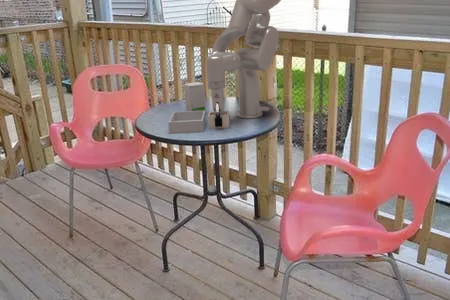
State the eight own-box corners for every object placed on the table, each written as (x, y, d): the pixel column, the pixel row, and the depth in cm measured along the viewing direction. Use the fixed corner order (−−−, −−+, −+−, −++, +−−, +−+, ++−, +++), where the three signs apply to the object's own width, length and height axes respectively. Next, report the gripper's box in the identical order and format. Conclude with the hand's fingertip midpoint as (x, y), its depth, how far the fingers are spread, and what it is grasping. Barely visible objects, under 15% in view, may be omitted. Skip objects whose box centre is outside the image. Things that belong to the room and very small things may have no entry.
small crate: (229, 123, 195) (228, 111, 192) (229, 127, 189) (228, 114, 187) (209, 124, 195) (208, 111, 193) (208, 128, 189) (207, 115, 187)
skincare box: (191, 117, 207) (188, 86, 201) (185, 114, 212) (183, 83, 207) (206, 114, 210) (204, 83, 204) (201, 111, 216) (198, 81, 210)
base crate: (206, 120, 201) (205, 110, 199) (203, 131, 186) (202, 120, 184) (174, 122, 201) (173, 112, 199) (169, 133, 186) (168, 122, 184)
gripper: (224, 88, 177) (227, 129, 183) (225, 79, 193) (227, 118, 199) (206, 89, 177) (209, 130, 184) (209, 80, 193) (211, 118, 200)
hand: (219, 123), depth 192 cm, fingers closed on small crate, 6 cm apart
